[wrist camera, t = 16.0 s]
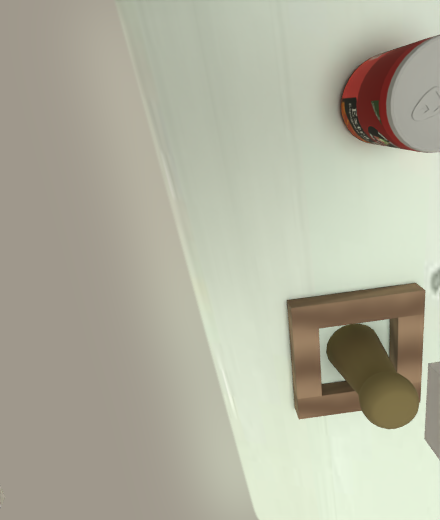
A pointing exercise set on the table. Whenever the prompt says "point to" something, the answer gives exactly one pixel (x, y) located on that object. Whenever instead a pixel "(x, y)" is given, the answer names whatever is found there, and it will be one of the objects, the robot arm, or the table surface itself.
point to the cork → (373, 376)
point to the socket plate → (343, 313)
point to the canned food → (397, 98)
